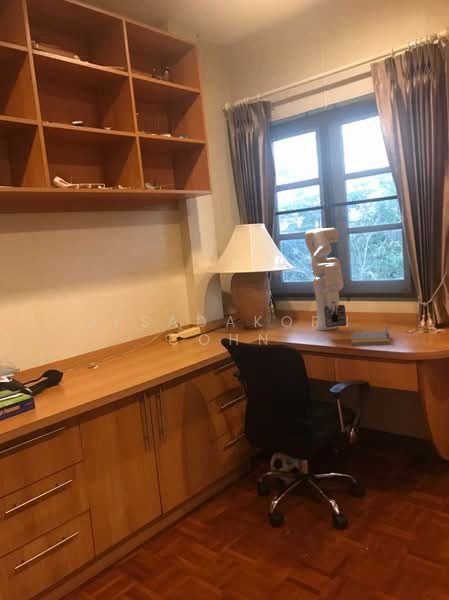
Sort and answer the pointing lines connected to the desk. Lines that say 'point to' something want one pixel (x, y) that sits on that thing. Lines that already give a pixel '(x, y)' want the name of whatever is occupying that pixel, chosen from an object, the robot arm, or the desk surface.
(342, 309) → the small box
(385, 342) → the dock
